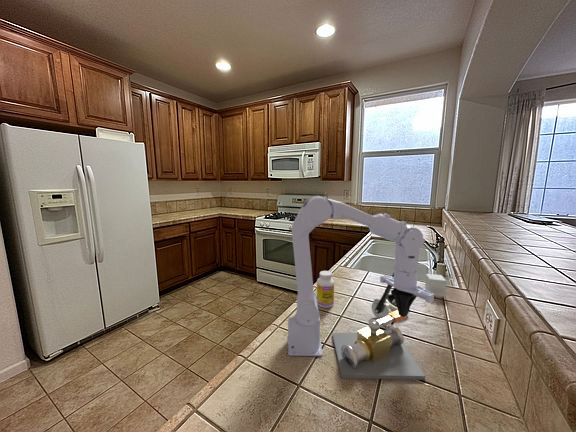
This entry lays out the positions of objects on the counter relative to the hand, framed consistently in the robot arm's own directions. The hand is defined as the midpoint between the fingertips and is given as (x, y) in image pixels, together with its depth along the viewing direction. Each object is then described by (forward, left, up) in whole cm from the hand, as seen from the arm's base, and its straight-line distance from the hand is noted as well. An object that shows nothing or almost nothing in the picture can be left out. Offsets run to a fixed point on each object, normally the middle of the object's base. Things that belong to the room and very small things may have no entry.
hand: (403, 314), depth 66 cm
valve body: (-9, -3, -10) cm, 14 cm away
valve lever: (-4, 0, -2) cm, 5 cm away
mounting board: (-9, -3, -10) cm, 14 cm away
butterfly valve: (+4, +18, -11) cm, 22 cm away
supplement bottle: (-19, +24, -11) cm, 32 cm away
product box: (+28, +33, -11) cm, 45 cm away
